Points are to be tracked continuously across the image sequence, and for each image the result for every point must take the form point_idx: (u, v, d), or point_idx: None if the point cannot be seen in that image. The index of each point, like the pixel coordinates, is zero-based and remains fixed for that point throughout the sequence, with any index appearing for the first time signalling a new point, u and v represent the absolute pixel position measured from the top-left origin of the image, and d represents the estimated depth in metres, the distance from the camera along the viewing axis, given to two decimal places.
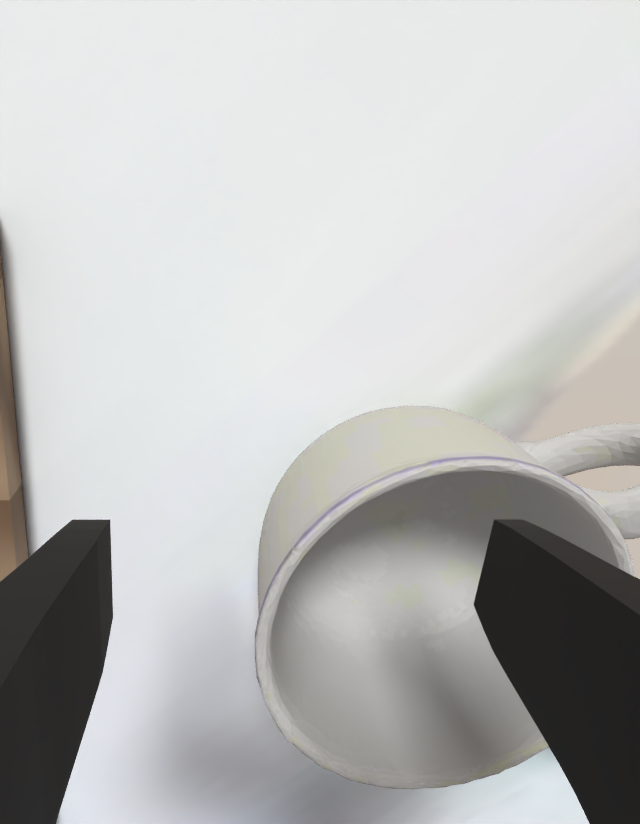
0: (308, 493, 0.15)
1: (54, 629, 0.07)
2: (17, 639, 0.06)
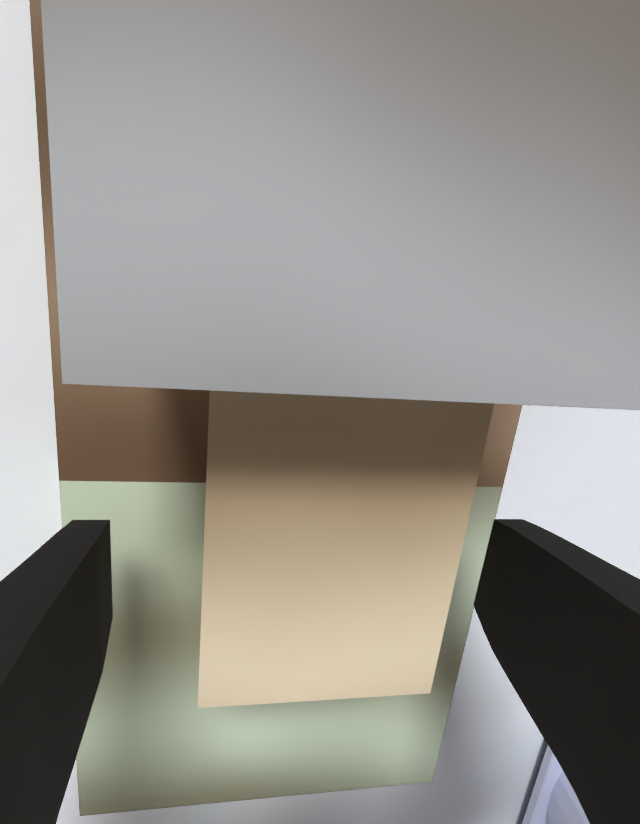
0: None
1: (54, 629, 0.07)
2: (17, 639, 0.06)
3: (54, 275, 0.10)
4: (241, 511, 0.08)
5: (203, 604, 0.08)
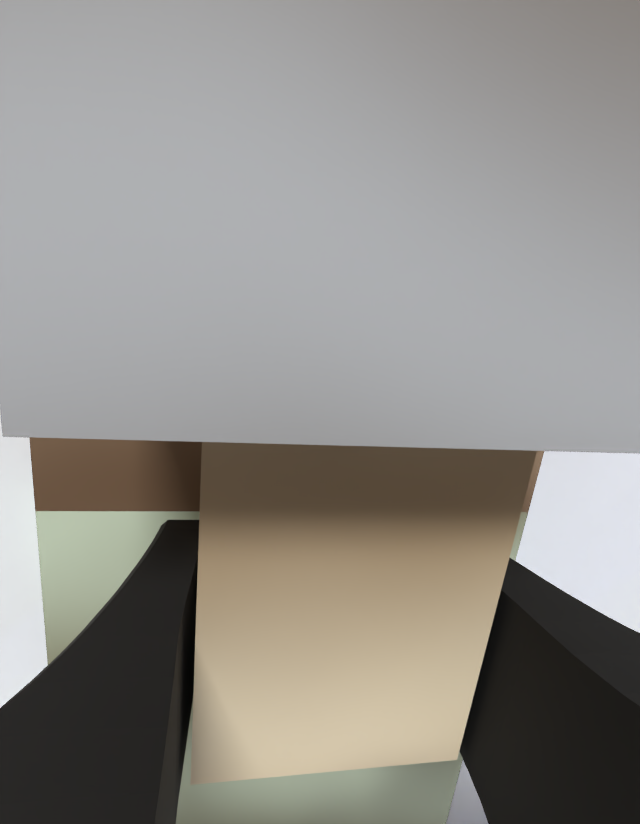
0: None
1: (185, 624, 0.07)
2: (168, 633, 0.06)
3: None
4: (241, 564, 0.07)
5: (196, 670, 0.07)
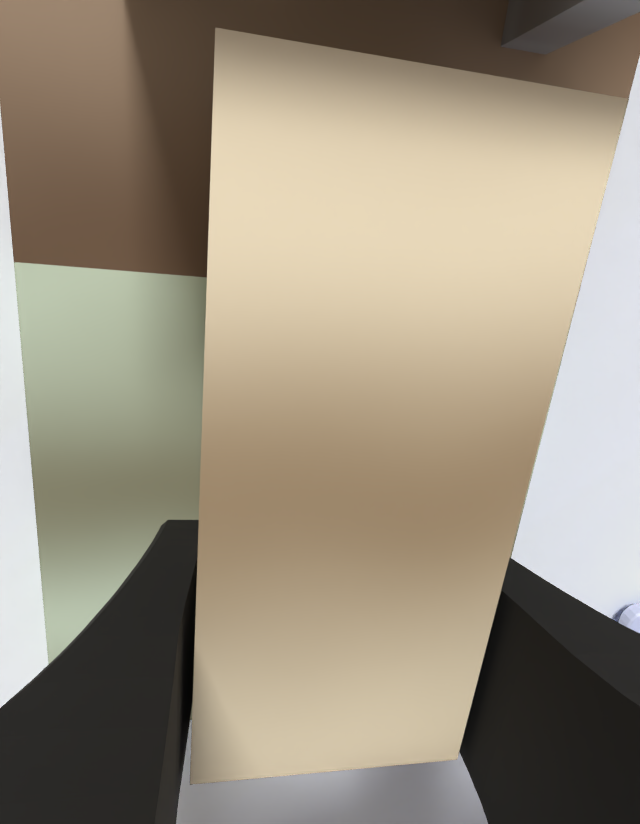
0: None
1: (185, 624, 0.07)
2: (168, 633, 0.06)
3: None
4: (240, 564, 0.07)
5: (196, 670, 0.07)
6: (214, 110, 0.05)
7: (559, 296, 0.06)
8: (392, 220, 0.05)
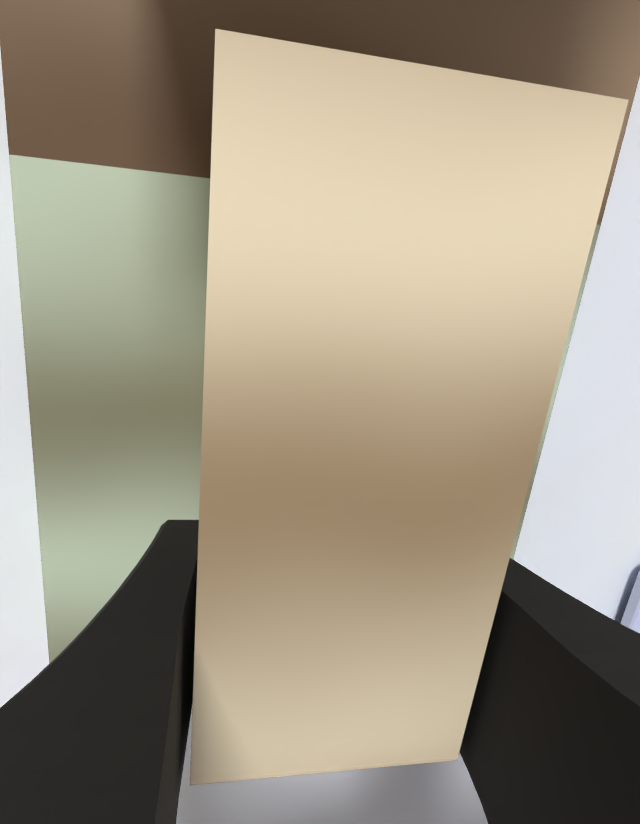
0: None
1: (185, 624, 0.07)
2: (168, 632, 0.06)
3: None
4: (240, 565, 0.07)
5: (196, 671, 0.07)
6: (214, 111, 0.05)
7: (559, 297, 0.06)
8: (391, 221, 0.05)
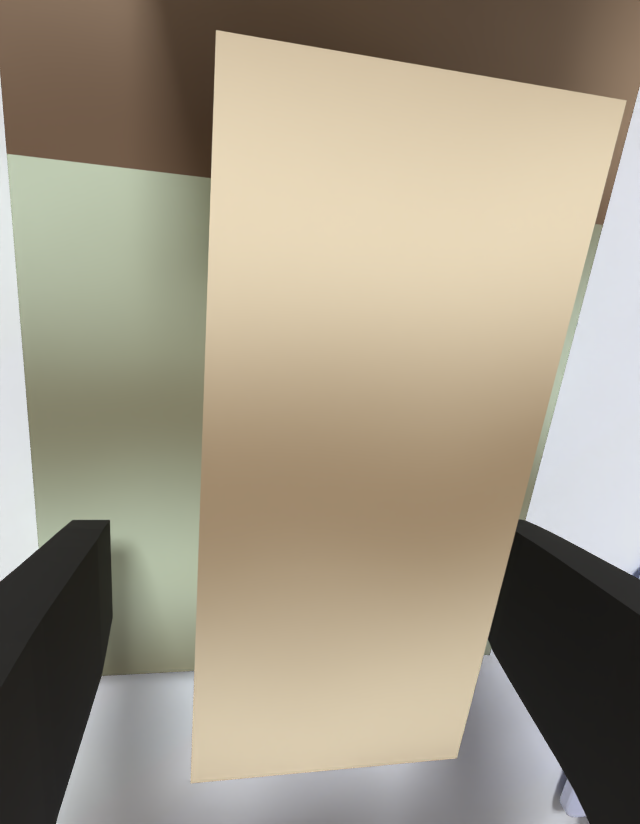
0: None
1: (54, 629, 0.07)
2: (17, 639, 0.06)
3: None
4: (241, 563, 0.07)
5: (196, 669, 0.07)
6: (214, 112, 0.05)
7: (558, 296, 0.06)
8: (391, 221, 0.05)
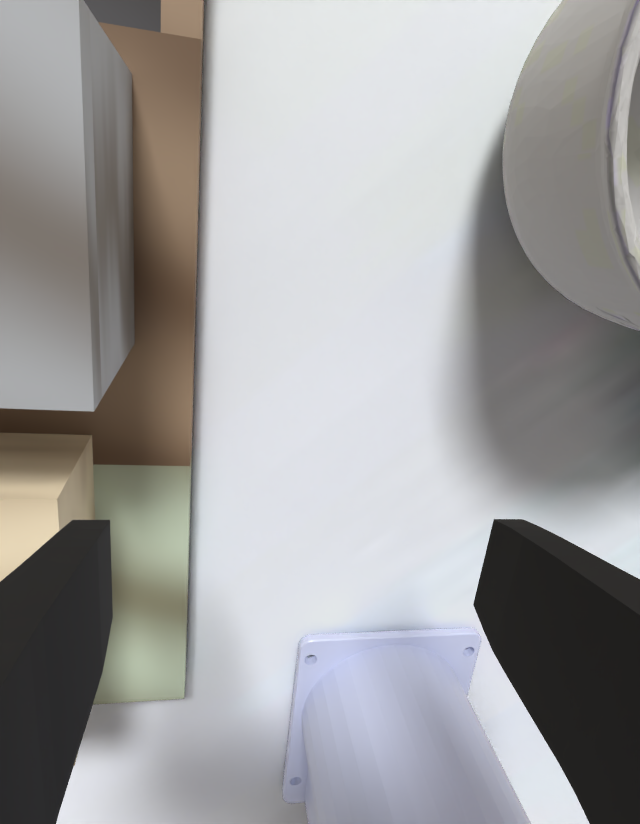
0: None
1: (54, 629, 0.07)
2: (17, 639, 0.06)
3: None
4: None
5: None
6: None
7: None
8: None
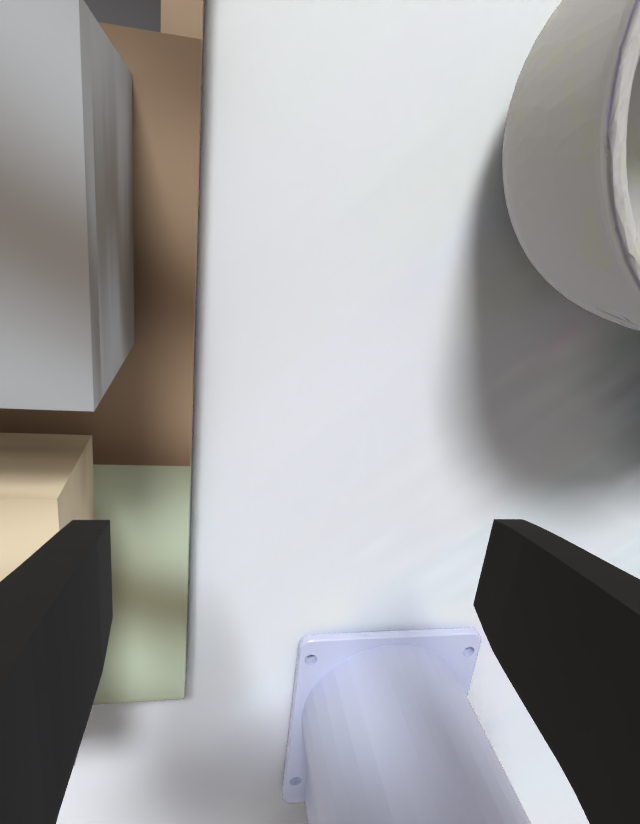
0: None
1: (54, 629, 0.07)
2: (17, 639, 0.06)
3: None
4: None
5: None
6: None
7: None
8: None
